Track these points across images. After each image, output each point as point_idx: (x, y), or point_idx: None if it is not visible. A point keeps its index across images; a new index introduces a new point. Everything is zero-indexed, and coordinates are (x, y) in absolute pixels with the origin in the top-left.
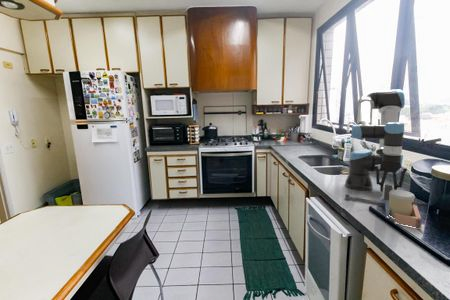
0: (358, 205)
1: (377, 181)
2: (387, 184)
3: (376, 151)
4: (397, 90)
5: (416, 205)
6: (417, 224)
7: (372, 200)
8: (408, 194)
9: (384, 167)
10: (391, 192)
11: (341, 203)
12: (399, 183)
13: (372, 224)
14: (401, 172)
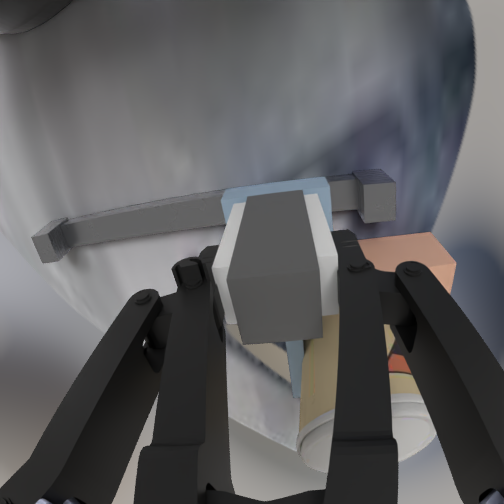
0: (142, 289)
1: (151, 362)
2: (264, 322)
3: None
4: None
5: (452, 274)
6: None
7: (179, 203)
8: (407, 442)
9: None
10: (311, 460)
11: (81, 305)
12: (402, 351)
13: (256, 411)
14: (481, 467)
